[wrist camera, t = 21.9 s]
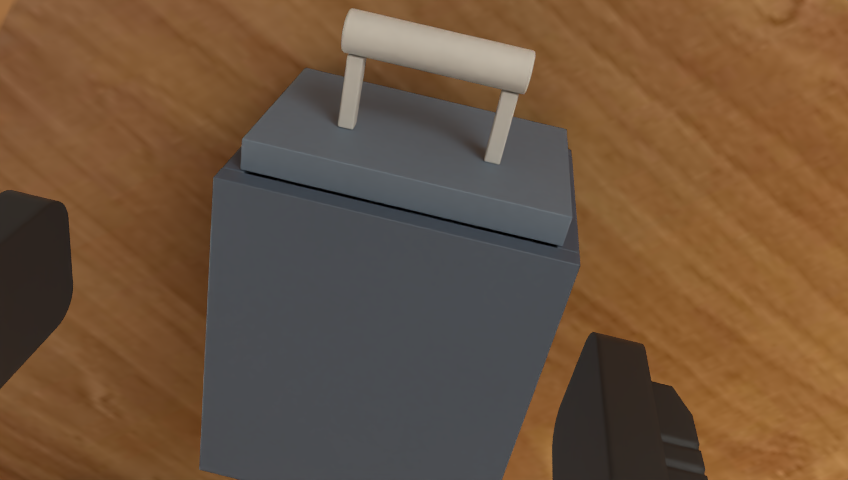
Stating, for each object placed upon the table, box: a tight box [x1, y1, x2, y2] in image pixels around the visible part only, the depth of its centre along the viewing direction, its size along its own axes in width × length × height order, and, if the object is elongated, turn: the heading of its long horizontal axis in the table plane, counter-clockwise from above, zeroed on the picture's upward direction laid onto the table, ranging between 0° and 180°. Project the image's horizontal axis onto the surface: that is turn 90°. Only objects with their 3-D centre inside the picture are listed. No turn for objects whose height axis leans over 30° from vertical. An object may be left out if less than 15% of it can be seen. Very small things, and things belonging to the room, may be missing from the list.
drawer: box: [240, 8, 572, 246], centre depth 31 cm, size 18×11×8 cm, turn 169°
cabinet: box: [199, 146, 580, 480], centre depth 33 cm, size 15×13×10 cm
